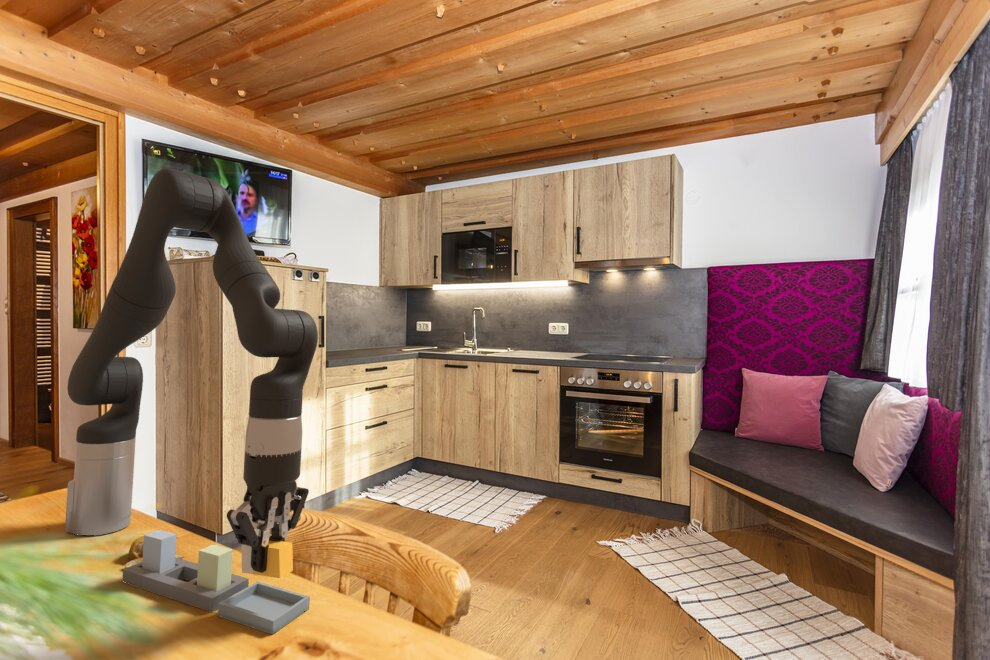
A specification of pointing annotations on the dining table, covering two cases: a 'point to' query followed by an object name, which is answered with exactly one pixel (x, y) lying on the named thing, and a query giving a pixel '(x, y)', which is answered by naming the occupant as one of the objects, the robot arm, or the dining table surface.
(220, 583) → the block
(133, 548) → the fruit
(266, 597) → the tray
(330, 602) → the dining table surface
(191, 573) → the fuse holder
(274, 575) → the block
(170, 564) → the block
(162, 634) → the dining table surface
